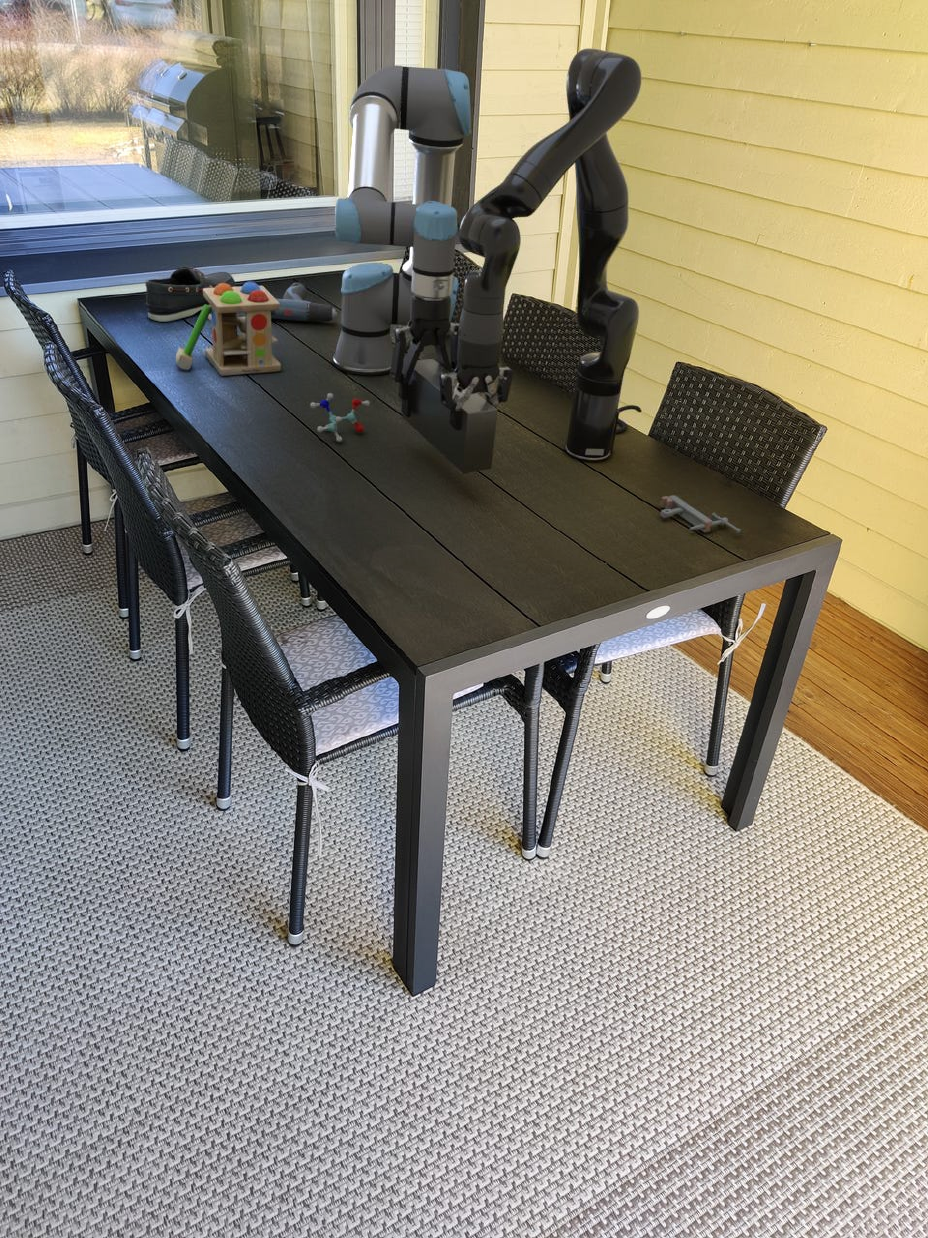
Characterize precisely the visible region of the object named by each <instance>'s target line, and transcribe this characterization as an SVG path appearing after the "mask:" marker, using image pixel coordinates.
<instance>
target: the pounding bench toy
mask: <svg viewBox="0 0 928 1238" xmlns="http://www.w3.org/2000/svg"><path fill="white" fill-rule="evenodd" d="M203 296H204V297H205V299H206V300H207V301H208V302H209V304H210V305H211V307H210V306H208V305H204V307H203V309H202V310H200V311H201V312H200V313H199V316H198V318H197V320H196V322H195V324H194V327H193V329H192V331H191V332H190V333H191V334H190V336H189V338H188V340H187V343H186V344H185V347H184V348H182V347H180V346H179V347H178V349H177V351H176V354H175V357H174V358H175V362H176V365H177V366H178V368H179V369H182V370H185V371H189V370H190V369H191V367H192V365H193V363H194V356H193V351H194V348H195V347H196V345H197V342H198V340H199V337H200V336H201V333H202V332H203V329H204V326H205V325H206V322H207V320H209V321H210V322H211V336H212V337H211V338H212V339H211V340H212V348H205V349H204V352H205V353H204V355H205V357H206V359H208V361H209V363H210V364H211V365H212V366H213V367H214V369H215V370H216V371H217V372H218V374H219V375H220V376H222V377H223V376H234V375H235V376H236V375H246V374H247V375H250V374H262V373H275V372H281V370H282V364H281V363H280V362H279V360H278V359H277V358H276V357H275V356H274V355H273V348H272V347H273V345H272V344H276V343H278V342H279V341H278V339H277V338H276V337H275V336H274V334H272V318H271V310H280V303H279V302H278V301H277V300H276V299H277V298H276V297H274V296H273V295H272V294H271V293H270V292H269V290H268V289H267V288H266V287H264V285H259V284H257V283H256V282H255V281H247V282H245V283H244V284H243V285H242V286H236V287H231V286H230V285H228V284H226V283H221V284H218V285H217V286H216V287H215V288H204V289H203ZM238 313H244V314H245V315H244V316H238ZM238 329H239V331H240V333H239V334H238Z"/></svg>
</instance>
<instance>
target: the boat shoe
mask: <svg viewBox="0 0 928 1238" xmlns="http://www.w3.org/2000/svg"><path fill="white" fill-rule="evenodd" d="M221 283H226V284H228V285H230V286H231V287H237V285H236V281H235V279H234V277H233V276H232V274H231V273H229V272H227V271H217V272H213V273H212V272H211V273H207V274H205V273H203V272H202V271H200V270H199V269H198V268H195V267H189V266H186V265H183V266H181V267H178V268H177V269H175V270H174V271H173V272H172V273H171V275H170V276H169V277H165V278H152V279H151V278H150V279H147V280H146V281H145V283H144V285H145V289H146V290H145V291H146V296H145V298H146V302H145V303H144V305H145V306H146V307H147V317H148V319H150V320H152V321H154V322H155V321H156V322H162V323H163V322H173V321H176V320H180V319H183V318H186V317H190V316H193V315H195V314H196V313H198V312H199V311H202V309H203V307H204V305H208V306H210V307H211V305H210V304H209V302H208V301H207V300H206V299H205V297H204V296H203V289H204V288H215V287H216V286H217V285H218V284H221Z"/></svg>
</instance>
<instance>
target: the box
mask: <svg viewBox="0 0 928 1238" xmlns="http://www.w3.org/2000/svg"><path fill="white" fill-rule="evenodd" d="M442 372H444V373H445V374H449V373H450V372H449V371H448V370H446V369H445V368H444V367H442V366H441V365H440V363H439V362H438V361H436V360H435V359H433V358H430V359H429V358H428V359H418V361H417V363H416V366H415V368H414V371H413V373H412V376H411V378H410V381H409V382H410V383H411V384H412V403H411V417H407V416H406V415H404V414H403V413H402V419H403V420H404V421H406V423H408V425H410V426H411V427H412V428H413V429H414V430H415V431H416V432H417V433H419V434H420V436H422V437H423V438H424V439H425V440H426V441H427V442H428V443H429V444H431V446H433V448H435V449H436V451H438V452H439V453H440V454H441V455H443V456H444V458H446V459H447V460H448V462H450V463H451V464H452V465H453V466H454V467H456V469H458V471H460V472H461V473H462V474H468V473H472V472H474V473H475V472H479V471H486V470H492V467H493V457H494V449H495V448H494V447H495V440H496V439H495V437H496V429H497V420H498V412H499V411H498V408H495V407H494V406H492V405H491V404H490V403H488V402H487V400H486V398H484V397H482V396H481V395H480V394H479V393H478V392H477V393H475V394H471V395H470V397H469V399H468V400H467V401H465V403H464V405H463V407H462V409H461V411H462V415H461V427H460V430H455V429H454V428H453V427H452V426H451V425H450V422H449V421H450V409H448V408H446V407H445V406H444V405H443V404H442V403H441V397H440V380H439V375H440V373H442ZM457 384H458V381H457V379H456V380H455V381H454V386H452V395H454V389H455V387H456V385H457ZM462 392H464V390H462Z"/></svg>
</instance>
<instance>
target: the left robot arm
mask: <svg viewBox="0 0 928 1238" xmlns="http://www.w3.org/2000/svg"><path fill="white" fill-rule="evenodd" d="M350 102H351V103H350V106H349V123H350V127H351V128H352V130H353V132H352V143H351V155H350V165H349V177H348V178H349V179H348V180H349V181H348V192H347V197H346V198H338V199H337V201H336V202H335V208H334V209H335V210H334V233H335V237H336V239H337V240H339V241H341V242H348V243H354V244H357V245H358V244H359V245H360V244H364V245H378V246H379V245H381V246H382V245H383V246H393V247H405V248H407V247H409V258H408V259H407V261H405V263H403V265H402V268H401V269H402V270H401V271H402V272H394V268H393V266H392V265H391V264H388V263H383V262H366V263H360V264H359V263H358V264H356V265H352V266H351V267H348V268H346V270H345V271H344V272H343V274H342V281H341V288H340V293H341V320H340V321H341V324H340V325H341V326H340V329H341V330H340V336H339V338H338V341H337V344H336V348H335V346H333V348H332V354H333V361H332V362H333V363H332V364H333V366H334V367H335V368H337V369H338V370H339V371H342V372H344V373H347V374H352V375H356V376H380V375H381V376H382V375H386V374H389V377H390V378H391V379H392V380H393V381H394V382H395V383H398V398H399V399H400V400H401V413H402V415H403V414H404V415H406V416H407V417H411V403H412V384H411V383H410V382H409V381H410V378H411V376H412V373H413V371H414V368H415V366H416V363H417V361H418V360H419V358H420V355H421V353H423V351H424V349H425V347H430V346H433V347H435V352H436V356H437V360H438V363H439V364H440V365H441V366H442V367H444V368H445V369H446V370H448V371H449V372H450V373H453V372H454V371H455V369H456V367H457V349H458V336H459V324H460V323H458V322H456V321H455V322H452V320H453V319H452V318H453V315H454V311H455V307H456V302H457V295H458V290H459V279H458V277H456V276H454V264H455V253H456V245H457V244H456V243H457V233H458V229H459V228H458V211H457V210H456V208H455V207H453V206H452V201H453V186H454V185H453V184H454V173H455V161H456V160H455V158H456V152H457V151H458V150H459V149H460V148H461V147H463V144H464V137H468V136H470V135H471V134H472V125H471V124H472V119H471V118H472V117H471V115H472V114H471V93H470V82H469V78H468V76H467V75H466V74H465V73H464V72H461V71H456V70H451V69H448V68H433V67H419V66H418V67H417V66H403V65H389V66H386V67H382V68H379V69H378V70H376V71H375V72H373V73H372V74H370V75H369V76H368V77H367V78H365V80H364V81H363V82H362V83H361V84H360V85H359V87H358V88H357V89H356V91H355V92H354V94H353V97H352V99H351V101H350ZM395 130H403V131H408V141H409V143H411V145H412V146H413V147H414V164H413V165H414V167H413V185H412V203H405V202H395V201H388V200H389V199H388V198H389V197H388V196H389V182H390V181H389V180H390V162H391V161H390V160H391V145H392V135H393V133H394V132H395ZM391 325H394V326H396V327H394V328H393V333H394V338H395V339H394V343H393V341H392V337H391V336H392V335H391ZM398 326H404V327H401V328H400V327H398ZM409 334H410V335H411V336H412V337H411V338H410V339H409ZM448 337H449V349H450V350H449V351H450V352H449V353H450V355H448V351H447V344H446V340H445V338H448ZM407 340H408V341H407ZM407 349H408V351H407V353H406V350H407ZM405 355H406V356H405ZM449 356H450V358H449Z"/></svg>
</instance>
